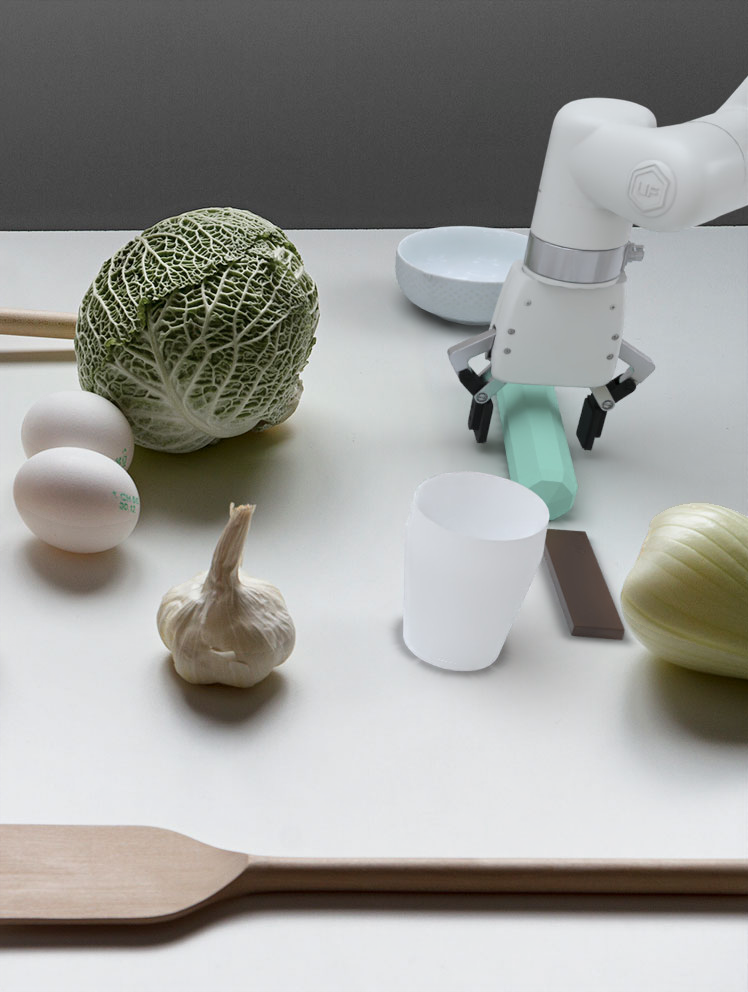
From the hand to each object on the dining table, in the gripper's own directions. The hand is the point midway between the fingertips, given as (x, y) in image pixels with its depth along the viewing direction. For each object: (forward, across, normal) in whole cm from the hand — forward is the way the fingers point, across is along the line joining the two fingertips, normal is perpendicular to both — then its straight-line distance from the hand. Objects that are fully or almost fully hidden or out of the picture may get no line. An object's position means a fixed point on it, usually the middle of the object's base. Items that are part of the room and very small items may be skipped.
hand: (530, 439), depth 116 cm
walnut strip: (+1, 0, +21) cm, 21 cm away
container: (+2, 0, 0) cm, 2 cm away
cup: (+2, +10, +29) cm, 31 cm away
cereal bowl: (+2, +1, -31) cm, 31 cm away
